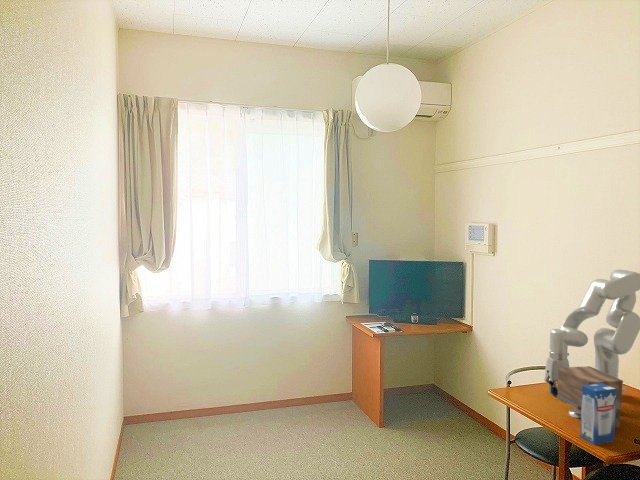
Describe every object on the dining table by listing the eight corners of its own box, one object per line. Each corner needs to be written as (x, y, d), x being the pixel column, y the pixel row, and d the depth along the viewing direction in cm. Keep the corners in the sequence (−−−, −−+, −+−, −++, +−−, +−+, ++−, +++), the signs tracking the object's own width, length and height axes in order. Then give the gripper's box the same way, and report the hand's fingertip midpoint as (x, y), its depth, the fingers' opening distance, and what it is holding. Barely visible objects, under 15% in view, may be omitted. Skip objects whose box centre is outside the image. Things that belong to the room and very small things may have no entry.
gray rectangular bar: (554, 392, 230) (554, 384, 230) (584, 409, 210) (584, 400, 210) (549, 393, 229) (549, 384, 229) (577, 409, 210) (578, 400, 210)
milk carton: (600, 433, 186) (601, 383, 185) (614, 441, 180) (616, 388, 179) (580, 437, 183) (581, 385, 182) (594, 444, 177) (595, 391, 176)
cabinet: (588, 409, 210) (589, 366, 209) (621, 427, 192) (622, 380, 191) (556, 411, 207) (558, 367, 207) (587, 429, 189) (589, 382, 188)
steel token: (578, 412, 207) (578, 409, 206) (588, 418, 201) (588, 414, 201) (565, 413, 206) (565, 409, 206) (575, 419, 200) (575, 415, 200)
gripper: (568, 352, 230) (567, 390, 231) (537, 354, 227) (536, 392, 228) (579, 357, 223) (578, 396, 223) (547, 358, 220) (546, 398, 221)
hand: (557, 394), depth 226 cm, fingers closed on gray rectangular bar, 2 cm apart
